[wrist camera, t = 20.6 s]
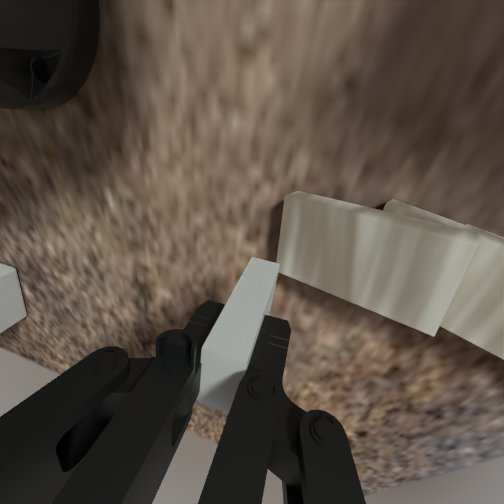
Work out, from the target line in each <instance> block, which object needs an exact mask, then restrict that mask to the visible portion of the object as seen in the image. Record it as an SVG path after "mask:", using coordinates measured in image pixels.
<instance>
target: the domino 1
mask: <svg viewBox="0 0 504 504" xmlns="http://www.w3.org/2000/svg"><path fill="white" fill-rule="evenodd" d="M478 244H479V238H478V233H477V232H473V231H468V230H464V229H460V228H455V227H451V226H447V225H443V224H438V223H434V222H430V221H425V220H421V219H417V218H413V217H408V216H404V215H400V214H395V213H391V212H387V211H383V210H378V209H374V208H370V207H366V206H361V205H357V204H353V203H348V202H344V201H340V200H336V199H331V198H327V197H323V196H318V195H314V194H310V193H306V192H301V191H296V192H294V193H291V194H288V195H285V198H284V206H283V214H282V221H281V229H280V237H279V245H278V253H277V261H276V263H279V264H280V267H279V273H281V274H284V275H286V276H289V277H291V278H294V279H296V280H298V281H301V282H303V283H306V284H308V285H310V286H313V287H315V288H318V289H320V290H322V291H325V292H327V293H330V294H332V295H335V296H337V297H339V298H342V299H344V300H347V301H349V302H351V303H354V304H356V305H359V306H361V307H363V308H366V309H368V310H371V311H373V312H376V313H378V314H380V315H383V316H385V317H388V318H390V319H392V320H395V321H397V322H400V323H402V324H404V325H407V326H409V327H412V328H414V329H417V330H419V331H421V332H424V333H426V334H429V335H431V336H433V337H435V334H436V332H437V330H438V328H439V326H440V324H441V322H442V320H443V318H444V316H445V313H446V311H447V309H448V307H449V305H450V303H451V301H452V299H453V297H454V295H455V292H456V290H457V288H458V286H459V284H460V282H461V280H462V278H463V276H464V274H465V271H466V269H467V267H468V265H469V263H470V261H471V259H472V257H473V255H474V253H475V251H476V248H477V246H478Z"/></svg>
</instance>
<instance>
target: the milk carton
mask: <svg viewBox="0 0 504 504" xmlns="http://www.w3.org/2000/svg"><path fill="white" fill-rule="evenodd" d="M26 316H27V313H26V309H25V304H24V300H23V296H22V292H21V288H20V283H19V279H18V275H17V271H16V269H15V268H13V267H10V266H7V265H4V264H1V263H0V333H2V332H3V331H5V330H6V329H8V328H9V327H11V326H12V325H14V324H15V323H17V322H18V321H20V320H21V319H23V318H24V317H26Z"/></svg>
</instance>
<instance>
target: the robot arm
mask: <svg viewBox="0 0 504 504" xmlns="http://www.w3.org/2000/svg"><path fill="white" fill-rule="evenodd" d="M98 26H99V7H98V0H0V107H1V108H7V109H22V110H45V109H51V108H54V107H57V106H59V105H61V104H63V103H64V102H66V101H67V100H69V99H70V98H71V97H72V96H73V95H74V94H75V93H76V92H77V91H78V90H79V88H80V87H81V86H82V84H83V82H84V81H85V79H86V77H87V75H88V73H89V70H90V68H91V65H92V62H93V59H94V55H95V50H96V45H97V38H98ZM279 267H280V264H279V263H274V262H270V261H266V260H262V259H258V258H254V257H252V258H251V260H250V261H249V263H248V265H247V267H246V269H245V270H244V272H243V274H242V276H241V278H240V280H239V281H238V283H237V285H236V287H235V289H234V290H233V292H232V294H231V296H230V298H229V299H228V301H227V303H226V305H225V304H221V303H218V302H214V301H210V300H208V301H207V302H205V303H204V304H202V305H200V306H199V308H198V309H197V311H196V312H195V314H194V315H193V317H192V318H191V319H190V322H188V324H187V325H186V327H185V328H184V330H180V329H174V330H168V331H166V332H163V333H161V334H160V335H159V336H158V337H157V338H156V357H153V358H129V357H128V353H127V352H126V351H125V350H124V349H122V348H119V347H105V348H101V349H98V350H96V351H95V352H93V353H91V354H90V355H88V356H87V357H85V358H84V359H82V360H81V361H80V362H78V363H77V364H75V365H74V366H72V367H71V368H70V369H68V370H67V371H65V372H64V373H62V374H61V375H60V376H58V377H57V378H55V379H54V380H52V381H51V382H50V383H48V384H47V385H45V386H44V387H42V388H41V389H40V390H39V391H37V392H35V393H34V394H32V395H31V396H30V397H28V398H27V399H25V400H24V401H22V402H21V403H19V404H18V405H17V406H15V407H14V408H12V409H11V410H9V411H8V412H7V413H5V414H4V415H2V416H1V417H0V504H50V503H51V502H52V503H51V504H152V502H153V500H154V498H155V495H156V493H157V491H158V489H159V487H160V485H161V483H162V480H163V478H164V476H165V474H166V472H167V469H168V467H169V465H170V463H171V461H172V458H173V456H174V454H175V452H176V450H177V447H178V445H179V443H180V441H181V439H182V436H183V434H184V432H185V430H186V428H187V426H188V423H189V421H190V419H191V415H192V409H193V405H194V403H195V400H196V398H197V396H198V403H199V404H202V405H205V406H208V407H211V408H214V409H217V410H220V411H223V412H226V413H229V414H228V417H227V420H226V423H225V426H224V429H223V432H222V435H221V438H220V441H219V444H218V446H217V449H216V453H215V455H214V458H213V462H212V464H211V467H210V470H209V473H208V476H207V479H206V482H205V484H204V488H203V490H202V493H201V496H200V499H199V502H198V504H261V503H262V497H263V491H264V486H265V480H266V474H267V469H269V470H270V471H271V472H272V473H274V474H275V475H276V476H277V477H279V478H280V479H281V480H282V487H283V500H284V504H366V503H365V499H364V495H363V492H362V488H361V485H360V481H359V478H358V474H357V470H356V467H355V463H354V460H353V456H352V453H351V449H350V446H349V442H348V438H347V435H346V433H345V430H344V428H343V426H342V425H341V423H340V422H339V421H338V420H337V419H336V418H335V417H334V416H332V415H331V414H329V413H328V412H325V411H322V410H310V411H309V412H306V411H304V410H303V409H301V408H300V407H298V406H297V405H295V404H294V403H293V402H292V401H291V400H290V399H289V398H288V397H287V395H286V393H285V391H284V389H283V385H282V378H283V373H284V367H285V362H286V356H287V350H288V345H289V339H290V334H291V329H290V326H289V323H288V321H287V320H283V319H280V318H276V317H272V316H268V315H269V312H270V308H271V305H272V300H273V295H274V291H275V286H276V281H277V276H278V272H279Z"/></svg>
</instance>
